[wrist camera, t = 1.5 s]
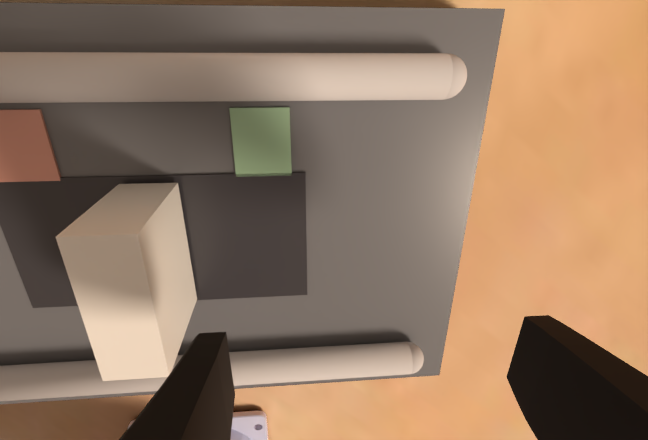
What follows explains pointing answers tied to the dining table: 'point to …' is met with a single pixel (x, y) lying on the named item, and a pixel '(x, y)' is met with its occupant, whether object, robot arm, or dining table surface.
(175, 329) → the lever
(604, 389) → the robot arm
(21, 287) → the box
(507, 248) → the dining table surface
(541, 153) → the dining table surface
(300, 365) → the pair of cream rails
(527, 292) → the dining table surface
